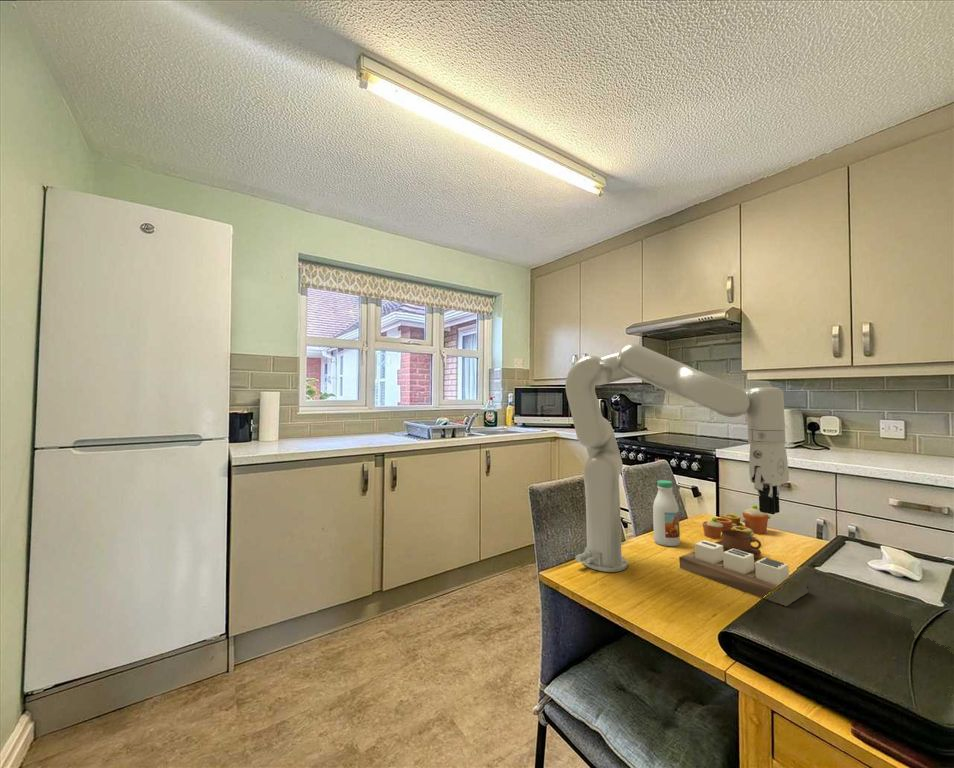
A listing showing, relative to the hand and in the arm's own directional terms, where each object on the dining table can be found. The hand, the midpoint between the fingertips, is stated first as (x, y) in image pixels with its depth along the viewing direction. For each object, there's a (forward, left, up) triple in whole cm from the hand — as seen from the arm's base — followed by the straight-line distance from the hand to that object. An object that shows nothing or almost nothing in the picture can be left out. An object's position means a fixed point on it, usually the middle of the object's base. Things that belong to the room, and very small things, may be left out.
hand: (769, 511), depth 97 cm
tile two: (0, +7, -16) cm, 18 cm away
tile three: (0, 0, -16) cm, 16 cm away
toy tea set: (+37, +26, -20) cm, 50 cm away
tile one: (0, +15, -16) cm, 22 cm away
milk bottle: (+9, +33, -19) cm, 40 cm away
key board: (0, +7, -19) cm, 21 cm away
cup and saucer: (+18, +16, -20) cm, 31 cm away
